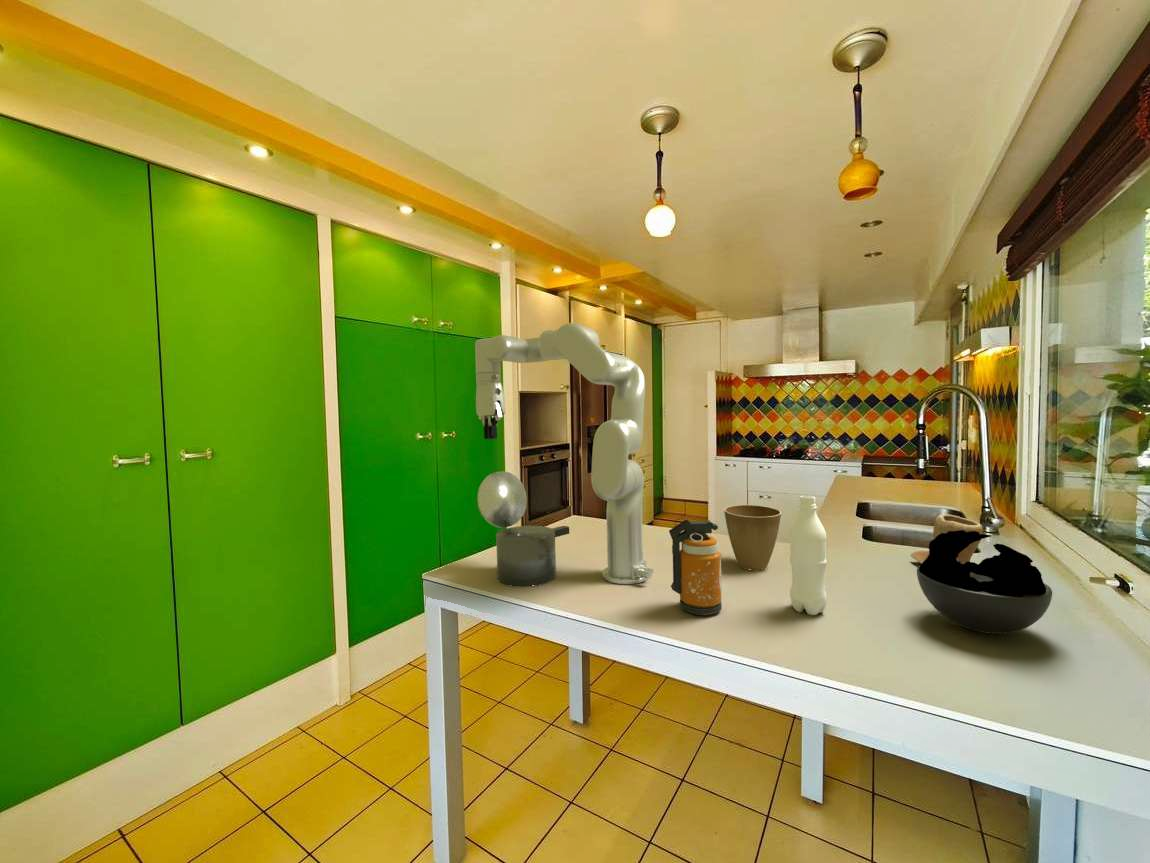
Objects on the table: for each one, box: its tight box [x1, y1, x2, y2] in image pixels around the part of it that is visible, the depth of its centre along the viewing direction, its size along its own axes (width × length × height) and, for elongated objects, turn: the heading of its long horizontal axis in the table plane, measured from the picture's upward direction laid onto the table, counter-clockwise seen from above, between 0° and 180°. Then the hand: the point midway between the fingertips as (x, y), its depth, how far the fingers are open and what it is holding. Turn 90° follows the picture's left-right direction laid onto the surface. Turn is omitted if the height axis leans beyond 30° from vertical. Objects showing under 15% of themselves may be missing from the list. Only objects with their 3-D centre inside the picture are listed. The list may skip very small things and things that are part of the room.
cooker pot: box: [495, 525, 570, 587], centre depth 132 cm, size 18×23×12 cm
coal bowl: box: [916, 530, 1053, 634], centre depth 92 cm, size 20×20×19 cm
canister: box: [668, 519, 723, 616], centre depth 105 cm, size 9×11×20 cm
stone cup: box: [910, 513, 984, 565], centre depth 123 cm, size 15×12×15 cm
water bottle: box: [789, 495, 828, 616], centre depth 102 cm, size 7×7×25 cm
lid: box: [477, 470, 528, 528], centre depth 136 cm, size 16×16×3 cm
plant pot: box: [723, 504, 782, 571], centre depth 131 cm, size 15×15×16 cm
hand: (490, 438), depth 146 cm, fingers closed
